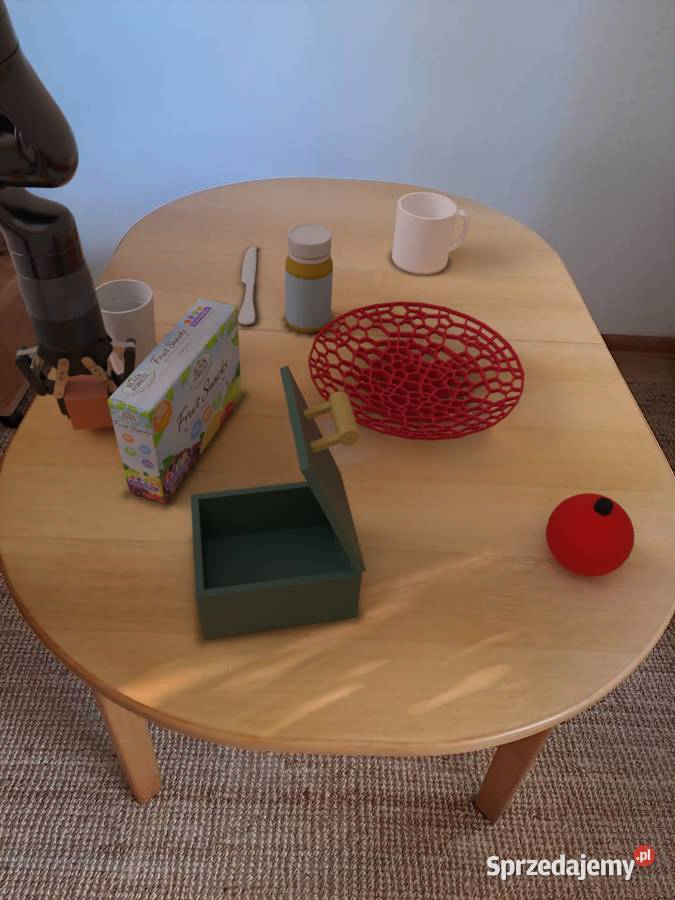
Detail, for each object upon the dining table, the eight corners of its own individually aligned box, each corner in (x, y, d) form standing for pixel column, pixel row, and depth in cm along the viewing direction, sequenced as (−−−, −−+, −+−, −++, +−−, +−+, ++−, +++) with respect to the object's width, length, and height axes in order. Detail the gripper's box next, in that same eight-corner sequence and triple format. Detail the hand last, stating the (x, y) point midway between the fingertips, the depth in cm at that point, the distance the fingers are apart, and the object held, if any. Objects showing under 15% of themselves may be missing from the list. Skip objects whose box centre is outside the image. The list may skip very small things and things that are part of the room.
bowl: (347, 311, 108) (349, 284, 104) (530, 355, 102) (538, 328, 98) (274, 429, 88) (273, 400, 85) (495, 492, 82) (504, 464, 79)
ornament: (558, 514, 80) (584, 457, 73) (630, 555, 76) (664, 499, 69) (522, 561, 75) (546, 504, 68) (597, 608, 71) (630, 553, 64)
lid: (300, 470, 52) (361, 448, 51) (279, 368, 60) (331, 348, 60) (358, 573, 63) (408, 556, 63) (334, 476, 72) (377, 460, 72)
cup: (172, 353, 98) (160, 281, 90) (156, 388, 93) (142, 315, 84) (118, 348, 99) (101, 276, 90) (100, 383, 93) (80, 310, 85)
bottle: (278, 328, 104) (276, 239, 93) (296, 305, 109) (297, 218, 98) (320, 340, 102) (323, 250, 92) (336, 316, 107) (341, 228, 96)
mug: (389, 271, 117) (395, 215, 110) (393, 243, 124) (400, 189, 117) (461, 279, 116) (472, 224, 109) (461, 251, 123) (472, 197, 116)
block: (77, 403, 88) (67, 373, 84) (116, 400, 88) (108, 370, 85) (73, 430, 84) (63, 400, 81) (115, 426, 85) (106, 396, 81)
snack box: (170, 507, 78) (150, 412, 68) (127, 494, 79) (101, 398, 69) (245, 396, 93) (238, 303, 82) (208, 386, 94) (197, 293, 83)
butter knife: (235, 323, 103) (254, 323, 104) (245, 245, 120) (261, 245, 120) (235, 325, 104) (254, 325, 104) (245, 247, 120) (261, 247, 121)
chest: (203, 640, 67) (195, 597, 61) (198, 539, 75) (190, 494, 70) (356, 617, 69) (362, 575, 64) (334, 522, 78) (337, 477, 72)
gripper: (129, 276, 77) (152, 388, 90) (-3, 284, 75) (39, 398, 87) (127, 314, 72) (152, 427, 85) (-14, 323, 70) (32, 438, 82)
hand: (94, 411), depth 86 cm, fingers closed on block, 5 cm apart
